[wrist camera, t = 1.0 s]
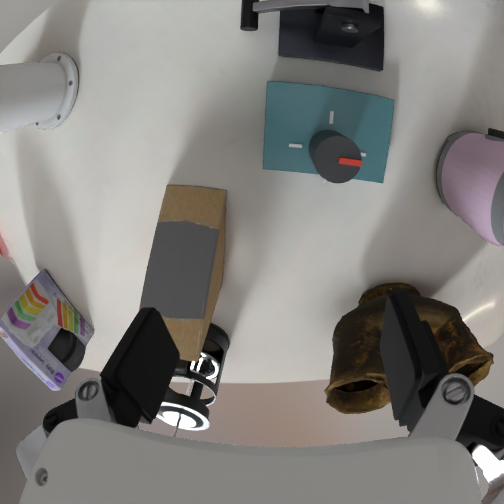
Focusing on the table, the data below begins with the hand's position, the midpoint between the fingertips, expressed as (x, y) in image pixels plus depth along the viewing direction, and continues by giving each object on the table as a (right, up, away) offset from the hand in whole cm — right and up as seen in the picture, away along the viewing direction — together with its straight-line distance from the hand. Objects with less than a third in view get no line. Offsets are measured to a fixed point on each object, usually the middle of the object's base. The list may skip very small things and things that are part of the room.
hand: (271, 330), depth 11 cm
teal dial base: (+8, +17, +19) cm, 27 cm away
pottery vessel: (+22, -5, +31) cm, 38 cm away
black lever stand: (+8, +29, +13) cm, 32 cm away
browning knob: (+7, +14, +17) cm, 24 cm away
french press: (-9, -12, +38) cm, 41 cm away
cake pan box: (-41, -9, +40) cm, 58 cm away
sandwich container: (-9, +5, +28) cm, 30 cm away
